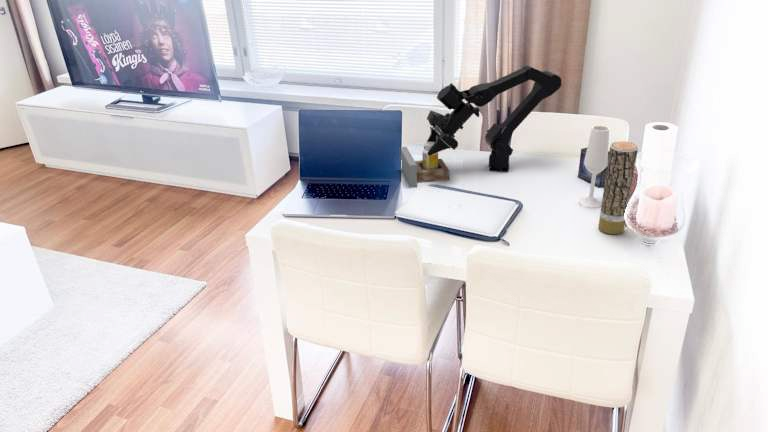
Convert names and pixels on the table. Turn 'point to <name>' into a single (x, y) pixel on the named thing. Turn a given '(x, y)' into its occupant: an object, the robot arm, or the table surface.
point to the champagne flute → (596, 160)
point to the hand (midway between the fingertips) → (426, 151)
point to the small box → (586, 175)
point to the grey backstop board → (409, 167)
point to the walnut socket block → (432, 172)
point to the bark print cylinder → (617, 186)
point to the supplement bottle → (429, 157)
